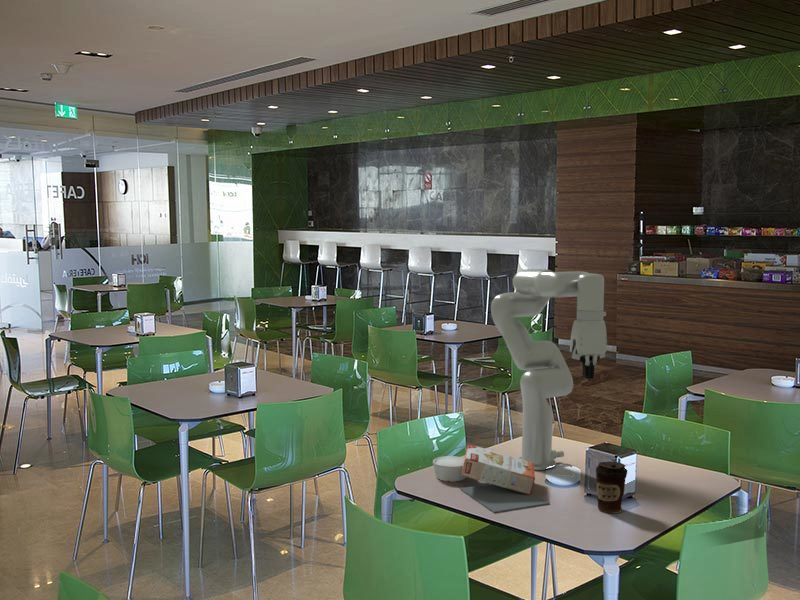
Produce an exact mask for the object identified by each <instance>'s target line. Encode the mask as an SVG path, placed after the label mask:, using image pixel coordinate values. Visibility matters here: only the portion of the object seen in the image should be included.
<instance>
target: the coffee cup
mask: <svg viewBox="0 0 800 600" xmlns="http://www.w3.org/2000/svg"><path fill="white" fill-rule="evenodd" d="M625 467H626V465H625V464H624V463H622V462H620V461H599V462H598V466H596V467H595V474H596V476H595V477H596V479H595V480H596V496H597V497H596V498H597V509H598V511H601V512H604V513H608V514H618V513H620V514H621V512H623V509H622V501H623V497H624V495H625V486H626V478H627V475H628V469H627V468H625Z"/></svg>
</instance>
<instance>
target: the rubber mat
mask: <svg viewBox="0 0 800 600" xmlns="http://www.w3.org/2000/svg"><path fill="white" fill-rule="evenodd" d="M459 490H460V491H462V492H463V493H464V492H465V493H464V494H466V495H467V496H469V497H470V498H472V499H473V500H475V502H477V503H479V504H480V505H481V506H483V507H485V508H486V509H487V510H489V511H490V512H492V513H493V514H496V513H497V514H498V513H503V511H504V512H509V511H514V510H522V509H529V508H534V507H535V508H536V507H540V506H546V505H547V504H548V505H551V504H550V503H551V502H549V501H547V500H546V499H544V498H543V497H541V496H539V495H537V494H536V493H534V492H532V491H531V494H530V495H528V494H525V493H521V492H518V491H514V490H511V489H507V488H504V487H500V486H497V485H493V484H490V483H487V484H481V485H475V486H467V487H460V489H459Z"/></svg>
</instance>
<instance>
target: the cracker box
mask: <svg viewBox="0 0 800 600" xmlns="http://www.w3.org/2000/svg"><path fill="white" fill-rule="evenodd" d="M465 450H466V451H465V456H464V458H465V459H464V462H463V469H462V476H466V478H470V479H473V480H476V481H480V482H484V483H487V484H493V485H497V486H500V487H504V488H507V489H511V490H514V491H518V492H521V493H525V494H528V495H530V494H531V492H532V491H533V487H534V483H535V480H536V475H535V470H534V463H533V462H530V461H526V460H523V459H519V458H520V457H514V456H511V455H508V454H504V453H501V452H498V451H494V450H491V449H487V448H484V447H481V446H478V445H477V446H476V445H473V444H470V443H469V444H468V445H467V447H466V449H465Z"/></svg>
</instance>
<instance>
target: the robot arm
mask: <svg viewBox="0 0 800 600" xmlns="http://www.w3.org/2000/svg"><path fill="white" fill-rule="evenodd" d="M512 286H513V288H514V290H515V291H512V292H511V291H510V292H504V293H499V294H497V295H495V296H494V298H493V299H492V300H491V304H490V305H491V306H490V314H491V319H492V322H493V323H494V325H495V327H496V329H497V331H498V332H499V333H500V335H501V336H502V338H503V340H504V341H505V344H506V347H507V349H508V352H509V354H510V355H511V358H512V359H513V362H514V364H515V366H516V367H517V369H518V370H520V371H525V372H523V374H522V375H521V377H520V379H519V381H520V382H519V383H520V384H519V385H520V393H521V399H522V439H521V440H522V441H521V456H520V457H518V458H519V459H523V460H526V461H530V462H533V463H534V471H546V470H545V469H546V468H547V467H549V466H553V465H556V466H557V461H556V459H557V458H563V457H565V452H564V450H560V451H556V450H555V449H552V448H553V447H552V442H553V441H552V440H553V410H552V408H551V405H550V404H549V402H548V400H547V399H549V398H559V397H565V396H568V395H569V394H571V392H572V391H573V389H574V380H573V376H572V373H571V370H570V368H569V367H568V365H567V362H566V359H565V358H564V356H563V354H562V352H561V350H560V349H559V347H558V346H557V344H555V342H553V341H550V340H535V339H533V338H532V336H531V335H530V332H529V330H528V328H527V327H526V326H525V325H524V324H523V323H522V322H521V321H520V320H518V319H517V318H524V317H525V318H527V317H535V316H537V315H539V314H541V312H542V311H543V310H544V308H545V307H546V305H547V304H548V303H549V301H550V300H551V298H568V297H569V298H570V297H571V298H572V297H577V298H576V299H577V300H576V319H575V320H574V321H573V323H572V327H571V332H570V333H571V334H570V340H569V341H570V342H569V343H570V344H569V352H570V353H572V355H571V358H572V359H574V360H577V361H579V362H580V364H581V365H582V369H581V370H582V371H581V372H582V373H581V374H582V378H583V379H586V380H593V379H594V377H595V376H594V375H595V366H597V362H598V361H599V360H600V359H603V358H605V357H606V352H607V350H608V349H607V347H608V338H607V337H608V336H607V327H606V321H605V320H604V317H606V316H607V312H606V311H604V310H605V309H604V306H605V305H604V304H605V302H604V301H605V299H604V297H605V278H604V275H603V274H599V273H591V272H590V273H589V272H587V271H579V270H576V271H553V270H550V269H548V268H547V269H545V268H541V269H540V268H539V269H535V268H534V269H532V268H531V269H523V270H520V271H518V272H517V273H516V274H515V275H514V276H513V278H512Z"/></svg>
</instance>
